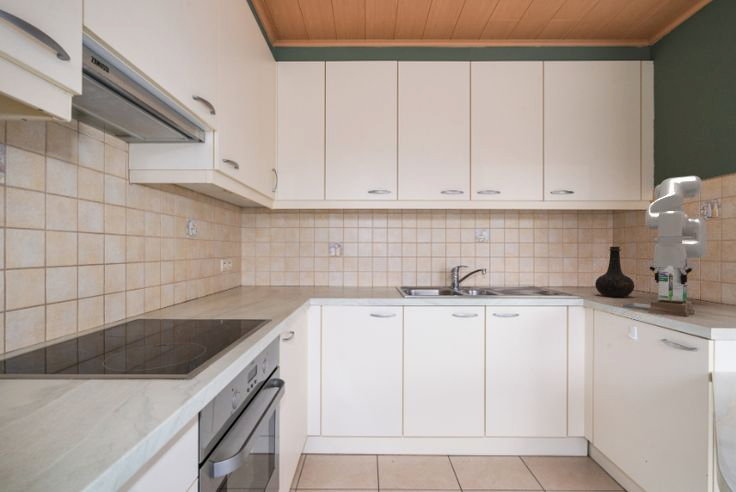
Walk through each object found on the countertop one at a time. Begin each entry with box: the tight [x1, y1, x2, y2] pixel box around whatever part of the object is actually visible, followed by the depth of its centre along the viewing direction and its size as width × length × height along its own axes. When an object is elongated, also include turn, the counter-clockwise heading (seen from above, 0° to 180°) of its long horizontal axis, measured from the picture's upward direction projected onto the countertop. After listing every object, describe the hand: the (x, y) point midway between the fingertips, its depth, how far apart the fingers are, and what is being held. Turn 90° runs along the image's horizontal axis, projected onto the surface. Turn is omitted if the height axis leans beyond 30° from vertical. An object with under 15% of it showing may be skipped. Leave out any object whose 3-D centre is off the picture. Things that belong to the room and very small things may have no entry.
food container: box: [681, 283, 690, 302], centre depth 162 cm, size 12×6×10 cm, turn 115°
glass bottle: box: [594, 246, 635, 298], centre depth 197 cm, size 18×18×28 cm
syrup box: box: [657, 266, 683, 301], centre depth 147 cm, size 6×6×14 cm
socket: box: [648, 299, 695, 318], centre depth 147 cm, size 12×12×4 cm
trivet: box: [622, 302, 650, 311], centre depth 161 cm, size 11×11×1 cm
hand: (670, 283), depth 147 cm, fingers closed on syrup box, 7 cm apart
